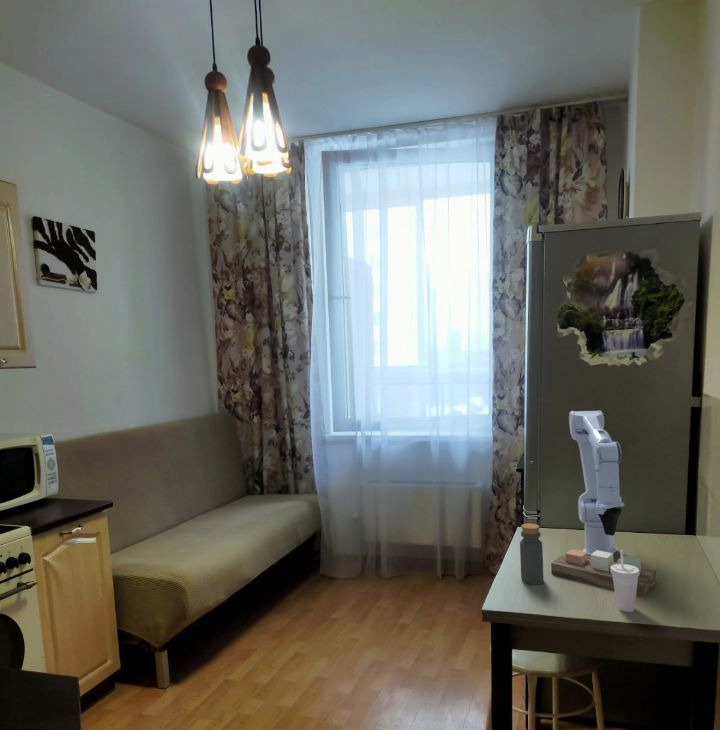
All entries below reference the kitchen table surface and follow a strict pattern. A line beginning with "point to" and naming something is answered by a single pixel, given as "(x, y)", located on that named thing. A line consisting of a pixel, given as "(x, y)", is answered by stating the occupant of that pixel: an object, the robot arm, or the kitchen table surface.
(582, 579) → the brown wooden tray
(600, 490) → the robot arm
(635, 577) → the smoothie
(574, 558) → the salmon cube
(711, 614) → the kitchen table surface
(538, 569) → the bottle
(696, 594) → the kitchen table surface
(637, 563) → the green cube
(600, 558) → the white cube
